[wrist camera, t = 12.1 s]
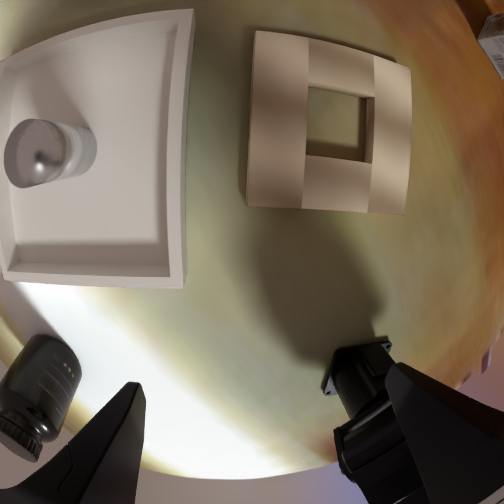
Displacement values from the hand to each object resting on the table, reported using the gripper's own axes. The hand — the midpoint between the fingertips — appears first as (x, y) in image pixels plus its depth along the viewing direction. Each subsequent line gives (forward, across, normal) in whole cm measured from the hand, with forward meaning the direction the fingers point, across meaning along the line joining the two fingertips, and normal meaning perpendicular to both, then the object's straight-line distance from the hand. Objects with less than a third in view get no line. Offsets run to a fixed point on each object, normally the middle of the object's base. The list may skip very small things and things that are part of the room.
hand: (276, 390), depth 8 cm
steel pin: (+12, +12, -8) cm, 18 cm away
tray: (+12, +12, -8) cm, 19 cm away
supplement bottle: (+12, +19, +11) cm, 25 cm away
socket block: (+12, -6, -10) cm, 17 cm away
